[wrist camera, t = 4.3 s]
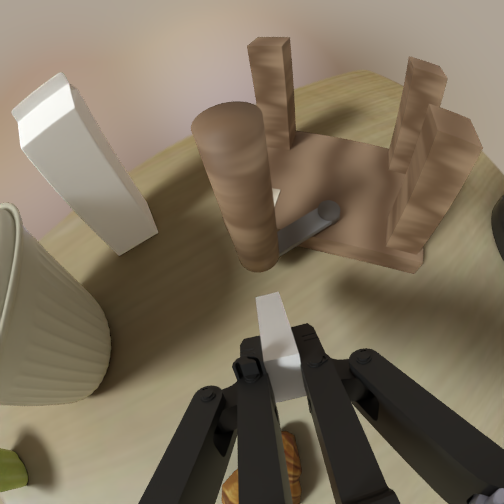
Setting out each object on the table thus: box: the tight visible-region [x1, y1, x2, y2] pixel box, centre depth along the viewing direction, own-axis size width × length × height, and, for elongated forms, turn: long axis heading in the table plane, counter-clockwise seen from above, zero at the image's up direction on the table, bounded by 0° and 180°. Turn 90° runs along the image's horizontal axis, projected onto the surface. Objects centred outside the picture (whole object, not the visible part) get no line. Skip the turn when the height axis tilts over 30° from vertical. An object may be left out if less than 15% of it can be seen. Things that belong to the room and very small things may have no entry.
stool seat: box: [222, 37, 483, 274], centre depth 24 cm, size 21×16×16 cm
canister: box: [0, 202, 111, 406], centre depth 17 cm, size 18×18×21 cm
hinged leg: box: [191, 102, 340, 272], centre depth 19 cm, size 11×4×15 cm, turn 121°
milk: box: [12, 72, 158, 256], centre depth 23 cm, size 6×6×22 cm
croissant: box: [222, 431, 302, 504], centre depth 15 cm, size 14×7×5 cm, turn 161°
